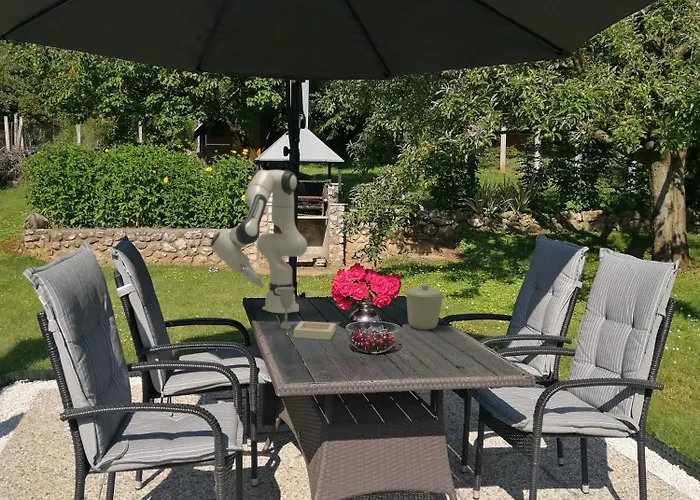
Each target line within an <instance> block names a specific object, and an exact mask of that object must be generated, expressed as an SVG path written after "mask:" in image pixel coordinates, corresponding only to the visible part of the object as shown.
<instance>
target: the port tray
mask: <svg viewBox="0 0 700 500" xmlns="http://www.w3.org/2000/svg"><path fill="white" fill-rule="evenodd" d="M336 324H337V323H334V322H316V321H305V320H304V321H303V320H301V321H299V322H298V323H297V325H296V326H295V327H294V329H293V338H295V339H296V338H297V339H309V340H310V339H311V340H325V341H326V340H327V341H328V340H329V341H330V340H331V339H332V338H333V336H334V334H335V333H336V326H337V325H336Z"/></svg>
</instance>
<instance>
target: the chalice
mask: <svg viewBox="0 0 700 500" xmlns="http://www.w3.org/2000/svg"><path fill="white" fill-rule="evenodd" d="M279 290H280V302H281V304H282V306H283V308H285V313H284V316H283V317H284V321H283V322H281V325H280V329H284V330H285V329H287V330H288V329H291V328H292V326H291V323H290V322H289V321H288V318H289V316H288V314H289V313H288V312H287V309H288V308H290V306H291V304H292V302H293V293H294V294H295V292H294V291H295V290H296V288H295V287H293V288H292V287H280V288H279Z"/></svg>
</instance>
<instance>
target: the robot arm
mask: <svg viewBox="0 0 700 500" xmlns="http://www.w3.org/2000/svg"><path fill="white" fill-rule="evenodd" d="M297 185H298V179H297V176H296V174H295V173H294V172H292V171H290V170H282V169H270V170H266V169H261V170H259V171H258V170H257V172H255V174H254V175H253V178H251V180H250V182H249V184H248V187H247V188H246V191H245V195H244V201H245V203H246V204H247V206H249V210H248V213H247V215H246V218H245V219H244V220H243V221H241V222H240V224H238V225H237V226H234V227H233V228H231V229H229V230H225V231H220V232H218V233H216V234H215V235H214V236H213V238H212V239H211V241H210V248H211V249H212V250H213V252H214V253H215V254H216V255H217V256H218V257H219V258H220V259H221V260H223V261H224V263H226V265H227V266H228V267H229V268H230V269H231V270H232V272H234V274H238V273H239V274H240V275H244V276H245V277H246V279H247V280H248V281H249V282H250V283H252V284H254V285H257V286H258V287H259V288H260V289H263V288H264V287H265V285H264V284H263V282H262V280H261V279H260V278H259V276H258V274H257V273H256V271H255V269H254V268H253V267H252V265H251V263H250V260H251V259H250V258H249V256H247V255H246V253H244V252H243V251H242V249H243V248H245V247H246V246H248V245H250V244H254V243H255V242H256V241H257V243H256V246H257V249H258V251H259V252H260V253H261V254H262V255H263V257H264V258H265V259H266V260H267V263H268V265H269V266H268V267H269V277H270V278H269V280H270V281H269V285H268V290H269V291H268V292H267V293H266V294H265V305H264V306H262V307H261V308H262V310H264V311H266V312H270V313H275V314H285V308H283V306H282V304H281V302H280V290H279V288H280V287H292V288H294V283H293V267H292V266H291V265H290V264H289V263H288V262H286V261H285V260H284V258H283V256H284V257H301V256H303V255H305V253H306V251H307V249H308V242H307V239H306V238H305V237H304V236H303V235H302V234H301V233H300V232H299V230H298V228H297V226H296V223H295V222H296V221H295V196H294V191H295V190H296V188H297ZM271 195H272V199H271V222H272V223H273V224H274V225H275V226H276V227H278V228H279V229H280V231H281V233H275V232H273V233H271V232H269V233H268V232H267V233H262V234H261V230H260V225H261V221H262V218H263V216H264V212H265V211H266V207H267V204H268V203H269V202H268V201H269V200H270V198H271ZM260 234H261V235H260ZM287 312H288V314H289V313H297V312H300V305H299V303H297V301H296V295H295V292H294V293H293V302H292V304H291V306H290V308H288V309H287Z"/></svg>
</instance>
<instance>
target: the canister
mask: <svg viewBox="0 0 700 500" xmlns="http://www.w3.org/2000/svg"><path fill="white" fill-rule="evenodd" d="M420 286H421V287H412V288H409V289H408V290H406V291H404V293H405V295H406V309H407V322H408V324H409V326H410V327H411V328H413V329H416V330H421V331H422V330H425V331H428V330H433V329H435V328H436V327H438V323H439V319H440V315H441V307H442V302H443V297H444V296H445V293H444V292H442V291H441V290H439V289H436V288H431V287H429V286H430V285H429V284H428V283H426V282H422V283H421V285H420Z"/></svg>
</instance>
